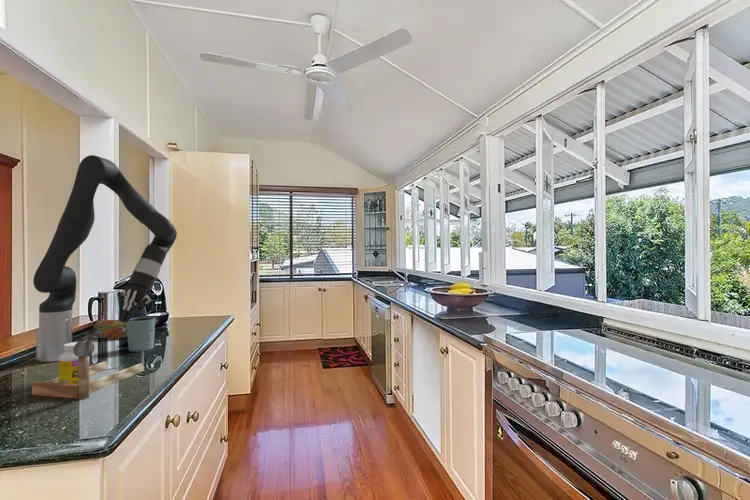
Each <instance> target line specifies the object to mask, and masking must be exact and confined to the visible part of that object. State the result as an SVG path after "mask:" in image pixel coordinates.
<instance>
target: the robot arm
mask: <svg viewBox="0 0 750 500" xmlns="http://www.w3.org/2000/svg"><path fill="white" fill-rule="evenodd" d="M100 184H101V185H104V186H105V187H107V188H108V189H110V190H111V191H112V192H114V194H116V195H117V196H118V197H119V199H120V200H121V203H122V204H123V206H124V207H125V209H126V210H127V211H128V212H129V213H130V214H131V215H132V217H134V218H135V219H136V220H137V221H138V222H140V224H141V225H144V226H145V227H146V228H147V229H148V230H149V231H150V232H151V233H152V234H153V235H154V237H153V239H152V240H151V243H149V244H147V245H146V246H145V248H144V250H143V252H142V254H141V256H140V259H139V260H138V261H137V263H136V264H135V267H134V269H133V271H132V273H131V275H130V277H129V280H128V286H126V288H125V289H124V290H123V291H118V292H116V295H117V302H118V307H120V308H121V309H122V311H121V313H120V315H119V317H118V320H119V321H120V322H124V323H127V322H128V321H129V320H130V319H131V317H132V315H133V314H134V313H135V312H140V311H142V310H143V309H144V308H146V307H147V306H149V305H150V304H151V303H152V302H153V300H152V299H151V298H150V296H149V295H150V290H152V289H153V287H154V285H155V282H156V280H157V279H158V276H159V274H160V272H161V268H162V265H163V263H164V261H165V259H166V256H167V254H168V252H169V251H170V250H171V248H172V246H173V245H174V244H175V241H176V239H177V235H178V233H177V229H176V227H175V225H174V224H173V223H172V222H171V221H170V220H169V219H168V218H167V217H166V216H165V215H163V214H162V213H161V212H159V211H158V210H157V209H156V208H155V207H154V206H153V205H152V203H150V202H149V201H148V200H147V199H145V197H144V196H143V195H142V194H141V193H140V192H139V191H137V189H136V188H134V187H133V185H132V184H131V183H130V181H129V180H128V179H127V178H126V177H125V175H124V174H123V173H122V171H121V170H120V169H119V167H118V166H117V164H116V163H114V162H113V161H112V160H109V159H107V158H103V157H101V156H97V155H93V154H91V155H87V156H85V157H83V159H82V160H81V161H80V163H79V165H78V168H77V171H76V175H75V179H74V182H73V186H72V189H71V193H70V194H69V197H68V200H67V203H66V205H65V208H64V211H63V212H62V214H61V217H60V220H59V221H58V223H57V224H58V225H57V227H56V231H55V233H54V235H53V237H52V239H51V241H50V244H49V246H48V248H47V251H45V252H46V253H45V254H44V256H43V258H42V260H41V262H40V263H39V265H38V267H37V268H36V270H35V272H34V275H33V286H34V288H35V290H36V291H38V292H39V293H42V294H43V293H44V294H48V297H47V298H46V299H45V300H44V301H42V302H41V303H40V304H39V306H38V311H39V312H38V332H37V333H36V337H35V338H36V339H35V340H36V343H35V344H36V345H35V347H36V349H35V350H36V351H35V353H36V354H35V355H36V356H35V358H36V361H38V362H40V363H49V362H59V357H60V355H62V354H63V353H64V352H65V350H64V344H67V343H72V342H73V306H74V303H75V301H76V294H77V275H76V272H75V271H74V270H73V268H71V267H70V266H66V264H67V262H68V259H69V258H70V257H71V255H72V254H73V253H74V252H75V251H77V249H78V248H80V246H82V244H83V243H84V242H85V241H86V240H87V238H88V237H89V235H90V233H91V231H92V228H93V225H94V223H95V207H94V206H95V205H94V199H95V195H96V192H97V190H98V187H99V186H100Z"/></svg>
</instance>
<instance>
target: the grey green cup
mask: <svg viewBox="0 0 750 500" xmlns="http://www.w3.org/2000/svg"><path fill="white" fill-rule="evenodd" d="M126 327H127V336H126V337H127V343H128V344H127V348H128V352H137V353H138V352H146V351H149V350H152V349H154V347H155V333H156V331H155V327H156V317H155V316H140V317H132V318H130V320H129V321H128V322H127V323H126Z"/></svg>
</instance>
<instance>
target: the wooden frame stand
mask: <svg viewBox="0 0 750 500" xmlns="http://www.w3.org/2000/svg"><path fill="white" fill-rule="evenodd" d="M97 339H98V338H97V337H96V336H94V335H87V336H86V340H80V341H76V342H77V343H76V344H75V346H74V348H73V353H74V355H75V356H79V357H78V384H65V383H58V378H59V376H57V377H54V378H51V379H48V380H45V381H34V382H32V383H31V395H32V396H42V397H56V398H67V399H69V398H70V399H77V400H86V399H88V398H89V397H90V394H91V393H93V392H96V391H98V390H100V389H104V388H105V387H107V386H110V385H113V384H115V383H117V382H121V381H123V380H125V379H127V378H130V377H132V376H134V375H138V374H140V373H142V372H144V370H145V369H144V367H145V366H144V362H141V363H138V364H135V365H132V366H130V367H128V368H124V369H122V370H119V371H116V372H113V373H111V374H108V375H105V376H104V377H100V378H99V379H95V380H94V381H90V376H92V375H94V374H95V375H96V374H98V373H101V372H103V371H106V370H109V361H108V360H104V361H101V362H99V363H96V364H93V365H90V359H91V358H90V356H91V355H93V353H94V351H95V344H94V342H93V341H96V340H97Z"/></svg>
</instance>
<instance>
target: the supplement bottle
mask: <svg viewBox="0 0 750 500" xmlns="http://www.w3.org/2000/svg"><path fill="white" fill-rule="evenodd" d="M77 342H78V341H72V343H67V344H64V350H65V352H64V353H63V354H62V355H60V357H59V361H58V377H59V378H58V383H65V384H78V357H79V356H75V355H74V353H73V348H74V346H75V344H76V343H77Z"/></svg>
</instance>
